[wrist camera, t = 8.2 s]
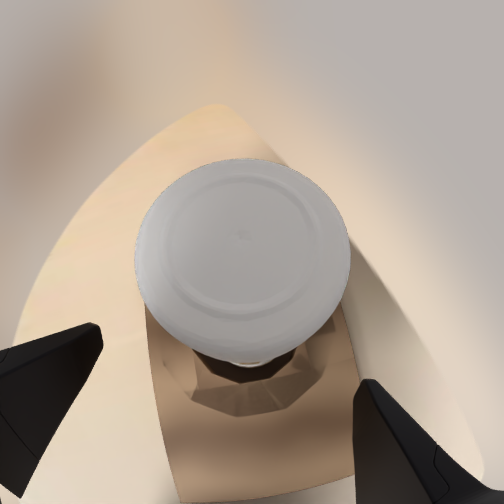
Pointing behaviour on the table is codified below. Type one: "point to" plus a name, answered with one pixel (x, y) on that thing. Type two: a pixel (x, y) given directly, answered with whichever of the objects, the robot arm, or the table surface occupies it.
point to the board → (255, 416)
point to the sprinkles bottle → (242, 260)
